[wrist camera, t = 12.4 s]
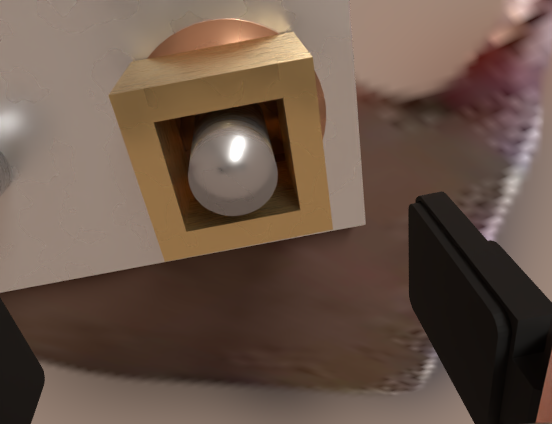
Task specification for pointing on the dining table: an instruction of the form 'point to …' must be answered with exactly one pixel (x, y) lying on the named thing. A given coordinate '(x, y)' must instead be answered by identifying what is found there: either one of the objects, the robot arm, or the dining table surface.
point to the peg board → (108, 139)
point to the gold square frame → (216, 96)
